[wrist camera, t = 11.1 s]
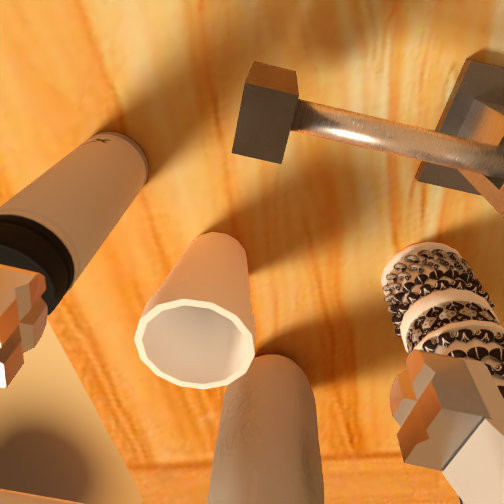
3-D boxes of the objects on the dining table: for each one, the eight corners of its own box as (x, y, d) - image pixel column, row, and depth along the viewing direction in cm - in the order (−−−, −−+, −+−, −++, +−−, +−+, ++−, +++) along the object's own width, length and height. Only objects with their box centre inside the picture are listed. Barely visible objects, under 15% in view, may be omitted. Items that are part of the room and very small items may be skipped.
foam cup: (215, 200, 42) (189, 277, 30) (280, 260, 45) (279, 350, 33) (153, 256, 45) (111, 343, 34) (218, 308, 48) (198, 404, 37)
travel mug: (97, 113, 38) (-56, 216, 21) (161, 159, 40) (69, 288, 23) (67, 166, 41) (-89, 295, 24) (128, 207, 42) (24, 354, 25)
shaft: (254, 61, 30) (244, 82, 23) (511, 122, 31) (574, 159, 24) (242, 118, 32) (231, 153, 26) (484, 173, 33) (536, 221, 27)
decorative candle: (362, 260, 44) (437, 517, 23) (455, 223, 41) (640, 476, 20) (393, 323, 48) (482, 592, 27) (480, 293, 45) (656, 566, 24)
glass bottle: (282, 407, 56) (281, 717, 32) (214, 374, 54) (158, 682, 30) (329, 362, 52) (368, 686, 28) (257, 324, 49) (231, 641, 25)
